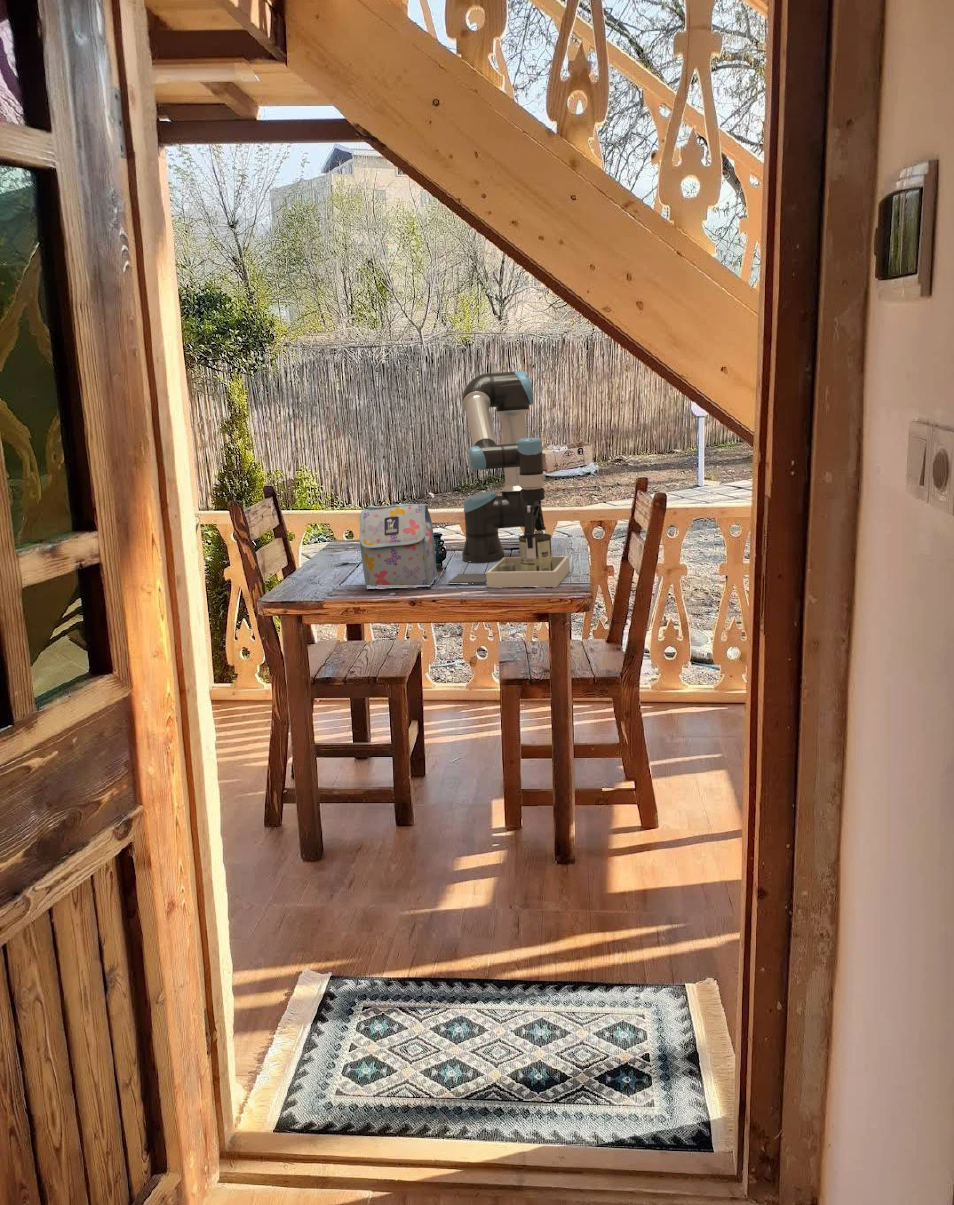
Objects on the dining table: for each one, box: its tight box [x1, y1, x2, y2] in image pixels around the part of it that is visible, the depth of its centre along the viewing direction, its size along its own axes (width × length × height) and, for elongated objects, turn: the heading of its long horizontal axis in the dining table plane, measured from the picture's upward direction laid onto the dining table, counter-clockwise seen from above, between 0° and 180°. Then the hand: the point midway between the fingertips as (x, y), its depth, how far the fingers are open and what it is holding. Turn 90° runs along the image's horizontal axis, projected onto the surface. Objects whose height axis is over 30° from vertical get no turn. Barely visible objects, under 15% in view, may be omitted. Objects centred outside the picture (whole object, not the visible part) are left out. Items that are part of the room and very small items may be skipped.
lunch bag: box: [359, 503, 439, 586], centre depth 332 cm, size 22×17×26 cm
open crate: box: [485, 555, 570, 589], centre depth 331 cm, size 22×24×5 cm
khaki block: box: [500, 563, 515, 572], centre depth 333 cm, size 4×4×5 cm
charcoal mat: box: [448, 573, 487, 585], centre depth 336 cm, size 12×12×1 cm
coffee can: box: [518, 532, 553, 571], centre depth 329 cm, size 10×10×14 cm
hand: (535, 554), depth 329 cm, fingers open, 13 cm apart
